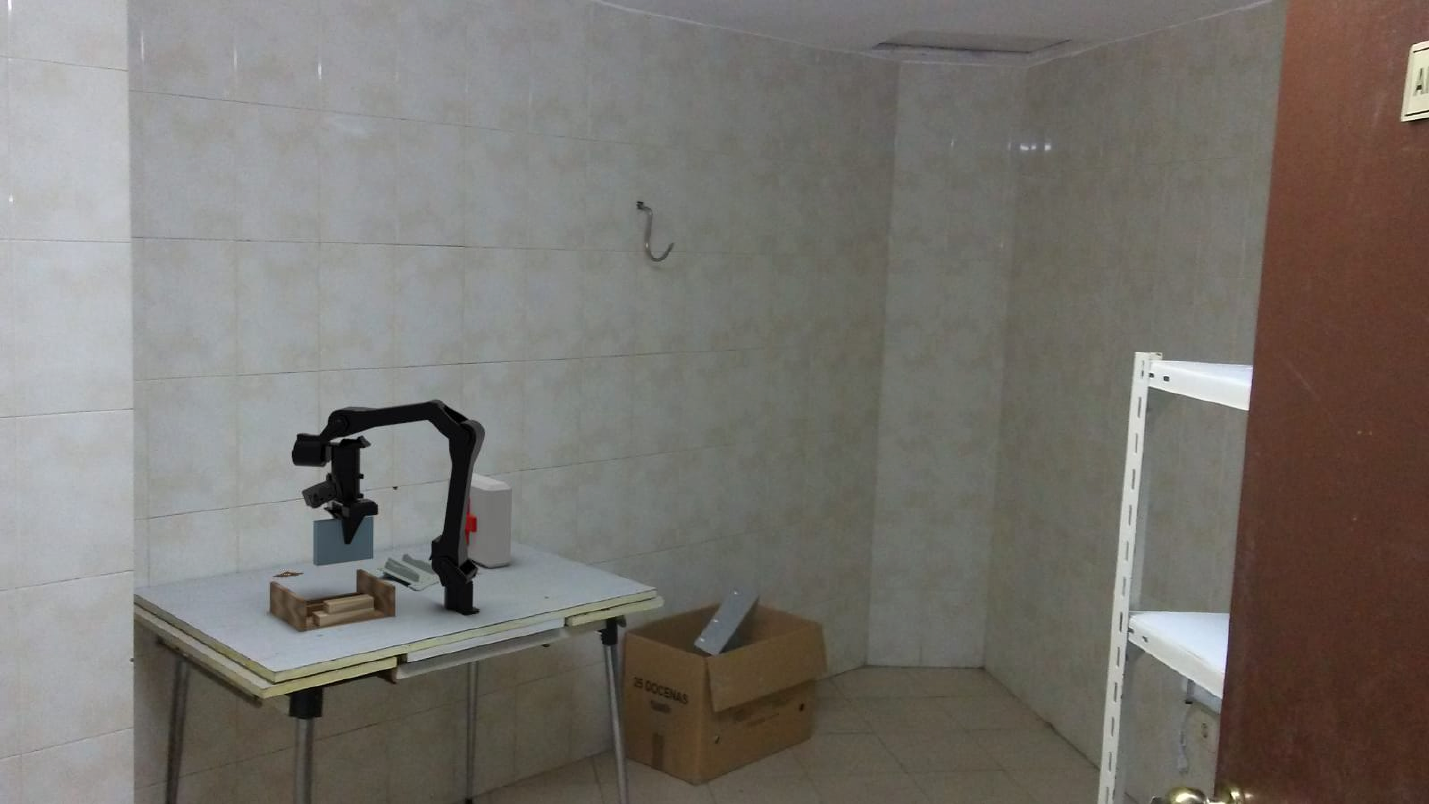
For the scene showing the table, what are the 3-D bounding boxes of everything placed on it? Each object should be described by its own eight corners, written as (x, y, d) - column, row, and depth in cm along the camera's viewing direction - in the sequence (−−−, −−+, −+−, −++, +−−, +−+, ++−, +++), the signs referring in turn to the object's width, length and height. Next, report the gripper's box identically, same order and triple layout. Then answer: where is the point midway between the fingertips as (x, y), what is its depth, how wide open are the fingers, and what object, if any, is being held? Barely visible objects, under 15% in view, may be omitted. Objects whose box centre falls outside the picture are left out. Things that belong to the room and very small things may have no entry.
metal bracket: (370, 561, 258) (406, 546, 272) (363, 584, 259) (400, 569, 273) (426, 586, 254) (459, 570, 269) (419, 610, 255) (452, 593, 270)
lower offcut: (374, 617, 231) (374, 608, 231) (319, 627, 224) (319, 616, 224) (366, 613, 234) (366, 603, 234) (312, 622, 227) (312, 612, 227)
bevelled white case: (440, 552, 291) (442, 472, 289) (469, 548, 296) (471, 470, 294) (482, 570, 275) (484, 486, 273) (512, 566, 280) (514, 483, 278)
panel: (373, 558, 245) (373, 516, 244) (317, 566, 237) (317, 522, 236) (369, 556, 246) (369, 514, 246) (313, 564, 239) (313, 520, 238)
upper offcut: (373, 607, 231) (373, 597, 231) (329, 614, 225) (329, 604, 225) (367, 604, 234) (367, 594, 233) (323, 611, 228) (323, 601, 227)
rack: (395, 620, 233) (395, 586, 233) (301, 636, 221) (301, 600, 220) (360, 601, 245) (361, 569, 245) (269, 616, 233) (269, 581, 232)
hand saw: (232, 602, 243) (232, 599, 243) (214, 599, 244) (214, 596, 244) (306, 575, 266) (306, 572, 266) (289, 573, 267) (289, 570, 267)
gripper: (289, 464, 242) (289, 539, 243) (325, 478, 228) (325, 557, 229) (341, 460, 249) (340, 532, 251) (379, 474, 235) (379, 550, 237)
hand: (345, 543), depth 242 cm, fingers closed on panel, 2 cm apart
